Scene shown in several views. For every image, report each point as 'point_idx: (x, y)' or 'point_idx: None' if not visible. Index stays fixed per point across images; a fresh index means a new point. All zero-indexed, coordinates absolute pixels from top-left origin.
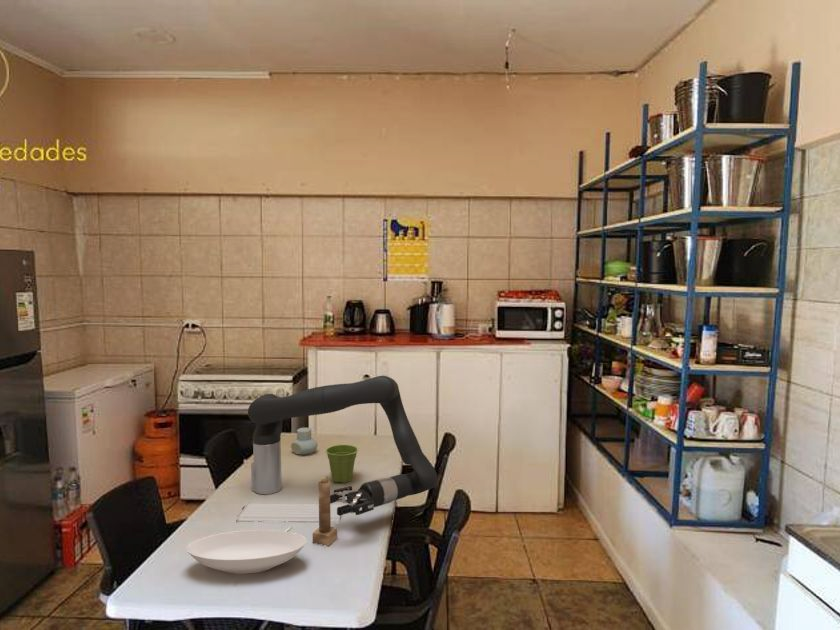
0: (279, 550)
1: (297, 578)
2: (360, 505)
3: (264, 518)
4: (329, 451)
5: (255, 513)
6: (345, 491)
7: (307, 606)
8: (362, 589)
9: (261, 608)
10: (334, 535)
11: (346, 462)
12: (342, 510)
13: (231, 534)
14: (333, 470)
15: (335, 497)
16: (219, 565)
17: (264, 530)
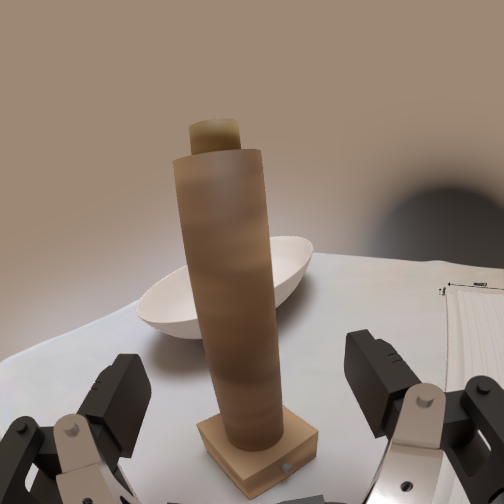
0: None
1: (134, 350)
2: (5, 440)
3: (457, 321)
4: None
5: (473, 305)
6: (407, 472)
7: (66, 337)
8: (5, 394)
9: (121, 308)
10: (230, 473)
11: None
12: (103, 375)
13: (309, 257)
14: None
15: (381, 410)
16: None
17: (288, 279)
